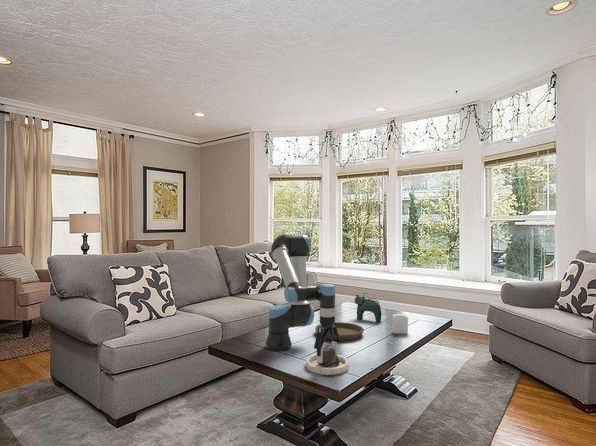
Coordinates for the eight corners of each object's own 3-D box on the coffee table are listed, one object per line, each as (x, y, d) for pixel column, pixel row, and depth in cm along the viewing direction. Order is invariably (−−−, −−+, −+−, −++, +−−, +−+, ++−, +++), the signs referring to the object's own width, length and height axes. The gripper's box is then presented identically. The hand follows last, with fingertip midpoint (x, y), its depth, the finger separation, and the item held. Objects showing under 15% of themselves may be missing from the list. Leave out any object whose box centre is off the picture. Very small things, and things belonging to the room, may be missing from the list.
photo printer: (407, 332, 244) (407, 313, 244) (408, 334, 240) (408, 315, 240) (391, 332, 245) (391, 313, 245) (392, 333, 241) (392, 314, 241)
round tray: (297, 367, 184) (297, 362, 184) (321, 355, 201) (321, 350, 201) (334, 378, 171) (334, 372, 171) (356, 364, 188) (356, 359, 188)
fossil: (313, 365, 183) (316, 344, 187) (319, 368, 190) (322, 348, 195) (334, 368, 178) (337, 347, 183) (340, 371, 186) (342, 350, 190)
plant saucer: (319, 326, 258) (319, 320, 258) (364, 329, 251) (364, 322, 251) (311, 340, 227) (311, 333, 227) (363, 344, 221) (363, 336, 221)
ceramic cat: (354, 318, 278) (354, 292, 278) (357, 317, 284) (358, 290, 284) (379, 323, 267) (379, 295, 267) (382, 321, 272) (382, 293, 272)
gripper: (320, 322, 174) (319, 367, 174) (346, 311, 194) (346, 352, 194) (306, 319, 178) (306, 364, 178) (333, 309, 198) (333, 349, 198)
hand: (327, 358), depth 186 cm, fingers open, 13 cm apart
